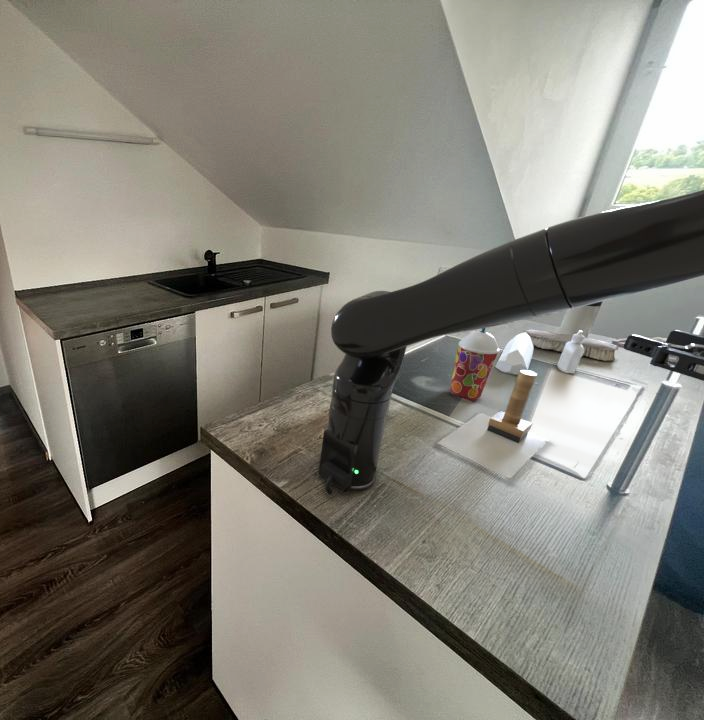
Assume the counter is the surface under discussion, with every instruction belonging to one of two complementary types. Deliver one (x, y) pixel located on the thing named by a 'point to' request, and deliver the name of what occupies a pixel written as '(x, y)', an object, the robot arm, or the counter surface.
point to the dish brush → (515, 410)
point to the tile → (492, 446)
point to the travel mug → (580, 320)
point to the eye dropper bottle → (571, 354)
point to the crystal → (516, 355)
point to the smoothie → (473, 364)
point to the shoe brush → (558, 341)
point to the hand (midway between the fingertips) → (648, 338)
